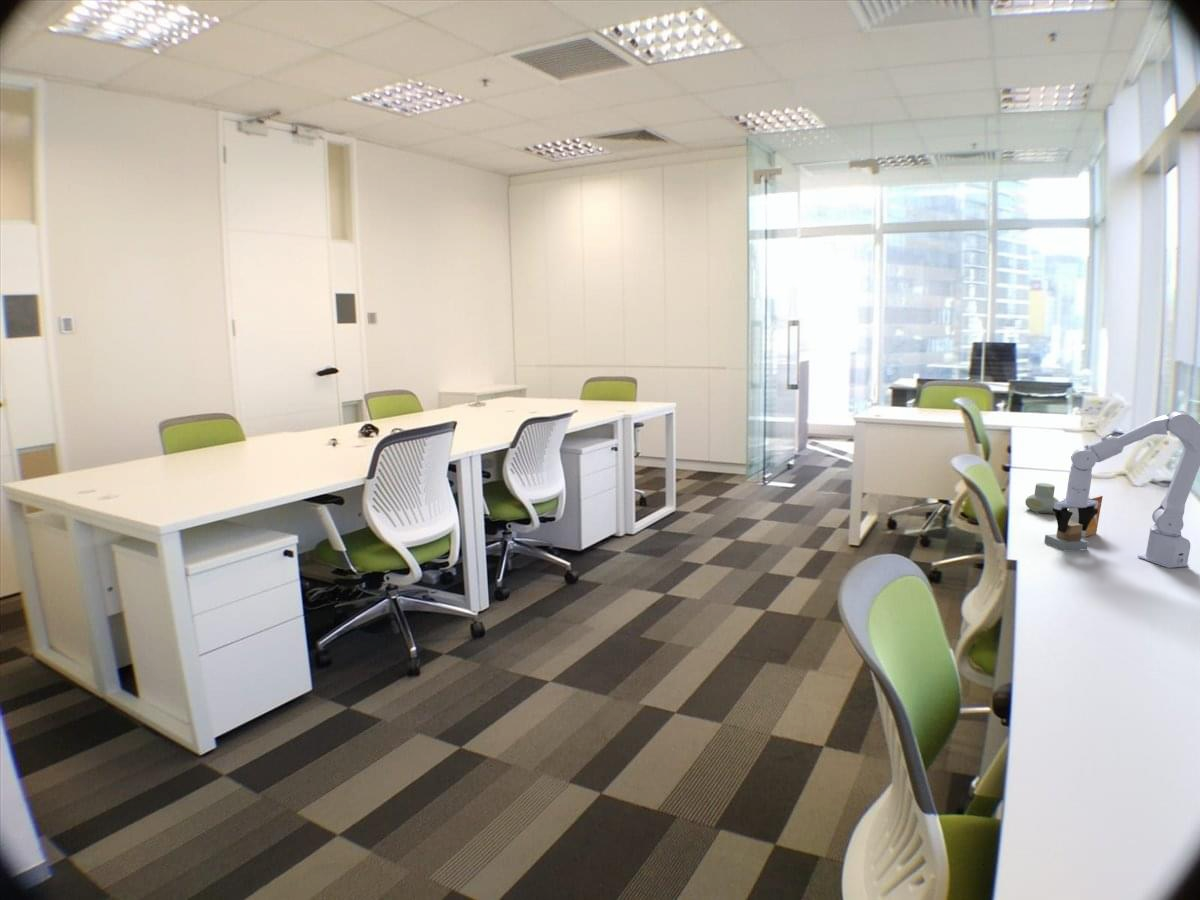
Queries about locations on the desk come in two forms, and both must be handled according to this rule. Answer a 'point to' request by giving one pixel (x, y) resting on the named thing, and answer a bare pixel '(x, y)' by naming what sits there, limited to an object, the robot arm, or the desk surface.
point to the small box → (1094, 522)
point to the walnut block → (1071, 532)
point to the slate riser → (1065, 543)
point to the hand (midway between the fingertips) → (1072, 530)
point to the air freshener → (1042, 498)
